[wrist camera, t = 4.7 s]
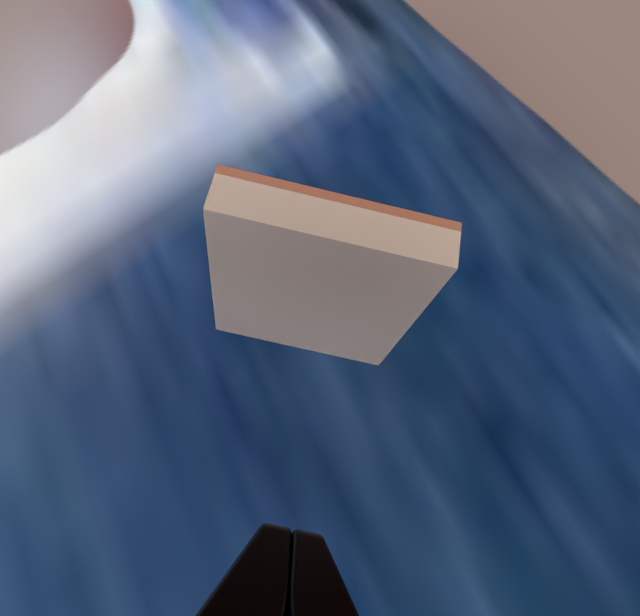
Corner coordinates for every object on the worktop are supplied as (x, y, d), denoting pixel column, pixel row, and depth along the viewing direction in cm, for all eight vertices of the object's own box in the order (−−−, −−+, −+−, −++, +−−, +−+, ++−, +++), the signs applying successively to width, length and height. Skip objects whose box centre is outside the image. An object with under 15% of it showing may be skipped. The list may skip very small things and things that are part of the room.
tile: (378, 365, 23) (457, 268, 14) (216, 329, 22) (202, 209, 14) (383, 333, 23) (462, 222, 15) (225, 297, 23) (217, 164, 15)
